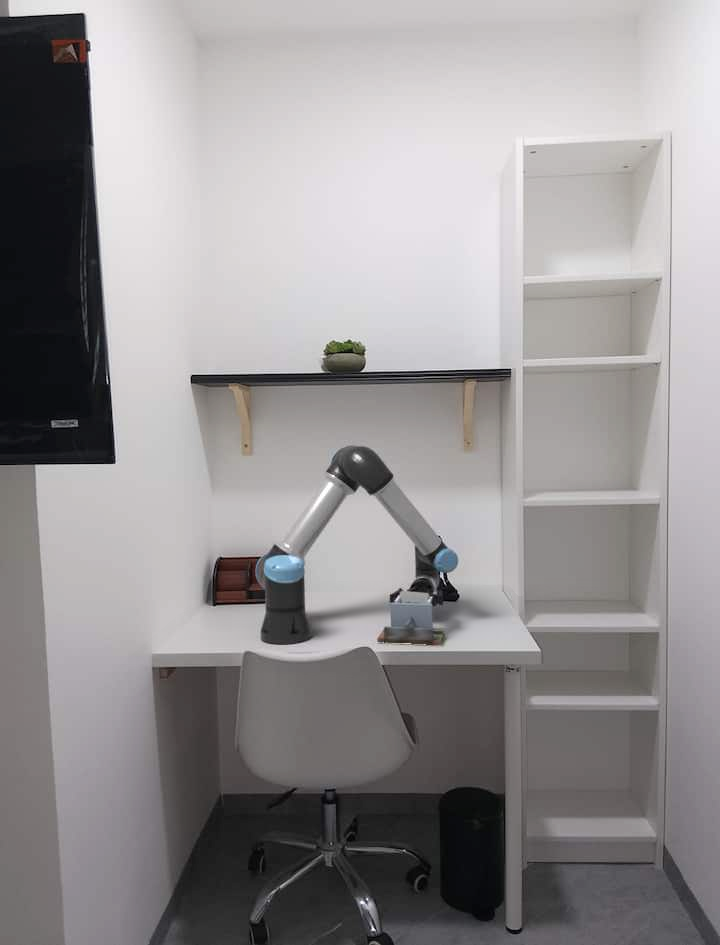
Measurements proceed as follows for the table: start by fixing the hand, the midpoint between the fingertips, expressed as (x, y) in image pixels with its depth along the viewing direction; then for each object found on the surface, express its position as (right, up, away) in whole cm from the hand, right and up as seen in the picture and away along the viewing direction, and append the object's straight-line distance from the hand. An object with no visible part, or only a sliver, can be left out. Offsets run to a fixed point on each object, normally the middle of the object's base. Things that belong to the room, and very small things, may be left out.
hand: (412, 605), depth 209 cm
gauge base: (0, -9, -1) cm, 10 cm away
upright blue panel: (+1, -8, -4) cm, 9 cm away
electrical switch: (+1, -6, +5) cm, 8 cm away
